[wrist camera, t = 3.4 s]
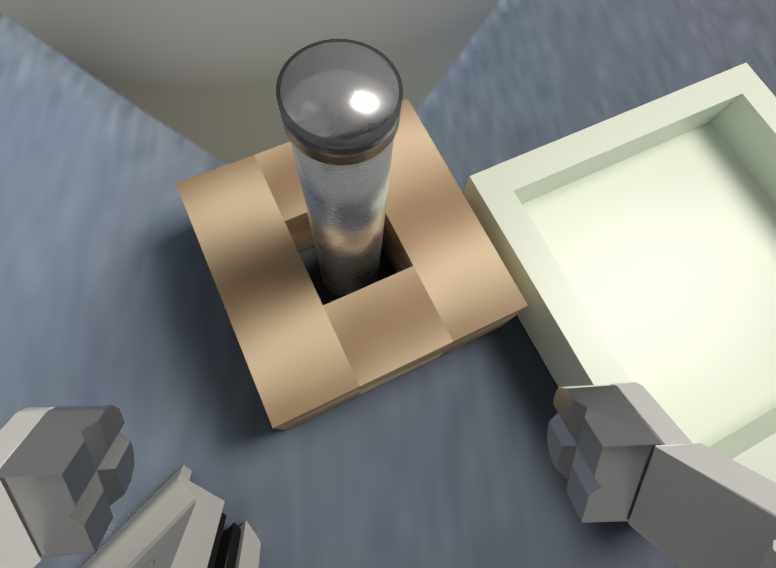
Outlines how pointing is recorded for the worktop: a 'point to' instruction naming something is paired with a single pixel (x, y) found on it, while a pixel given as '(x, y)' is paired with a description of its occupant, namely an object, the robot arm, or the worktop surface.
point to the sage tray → (655, 257)
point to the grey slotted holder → (179, 533)
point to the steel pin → (342, 151)
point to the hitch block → (361, 308)
